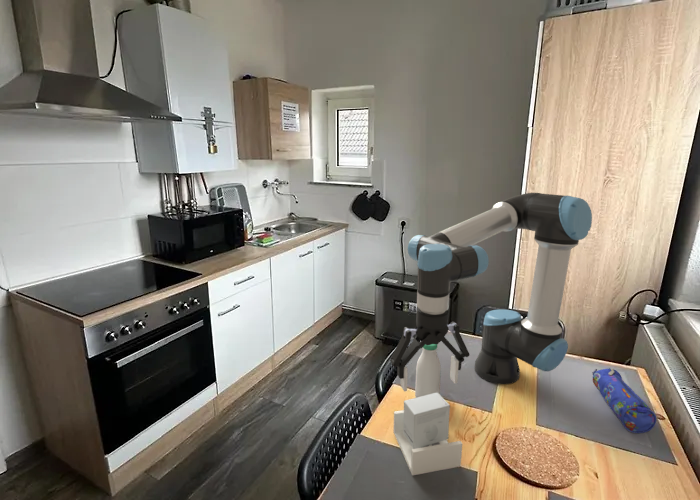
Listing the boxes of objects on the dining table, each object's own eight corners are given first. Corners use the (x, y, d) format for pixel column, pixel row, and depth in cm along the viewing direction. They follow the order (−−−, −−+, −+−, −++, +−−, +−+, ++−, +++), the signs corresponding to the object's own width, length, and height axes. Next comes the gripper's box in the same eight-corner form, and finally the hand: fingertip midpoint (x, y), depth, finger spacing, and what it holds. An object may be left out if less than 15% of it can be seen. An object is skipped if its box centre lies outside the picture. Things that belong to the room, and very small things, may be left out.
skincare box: (435, 423, 106) (437, 391, 103) (448, 439, 100) (451, 405, 97) (402, 432, 103) (403, 399, 100) (413, 450, 97) (415, 415, 94)
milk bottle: (439, 406, 119) (443, 349, 113) (414, 403, 120) (416, 347, 115) (438, 391, 126) (442, 337, 121) (415, 388, 127) (417, 335, 122)
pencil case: (588, 386, 128) (593, 361, 125) (616, 389, 126) (621, 364, 124) (620, 434, 107) (627, 405, 104) (655, 438, 105) (662, 408, 103)
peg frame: (435, 425, 111) (437, 404, 109) (460, 466, 97) (462, 443, 95) (393, 432, 108) (393, 411, 106) (412, 475, 94) (413, 452, 92)
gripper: (471, 297, 97) (466, 369, 103) (378, 307, 92) (378, 382, 98) (487, 309, 90) (481, 386, 96) (387, 320, 85) (386, 400, 91)
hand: (428, 384), depth 97 cm, fingers open, 13 cm apart
